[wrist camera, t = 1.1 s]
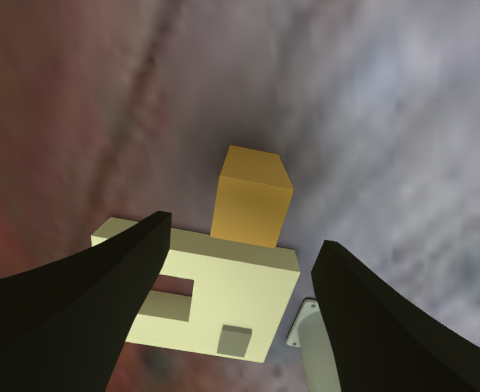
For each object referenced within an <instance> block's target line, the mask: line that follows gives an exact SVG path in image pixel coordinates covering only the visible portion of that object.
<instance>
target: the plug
mask: <svg viewBox="0 0 480 392" xmlns="http://www.w3.org/2000/svg"><path fill="white" fill-rule="evenodd" d="M293 192H294V188H293V186H292V184H291V181H290V179H289V177H288V175H287V172H286V170H285V168H284V165H283V163H282V161H281V159H280V156H279V155H278V154H273V153H268V152H263V151H258V150H253V149H248V148H243V147H238V146H233V145H230V147H229V150H228V153H227V156H226V159H225V162H224V165H223V168H222V171H221V174H220V178H219V184H218V190H217V196H216V202H215V209H214V215H213V221H212V227H211V233H210V237H213V238H218V239H224V240H229V241H235V242H241V243H246V244H252V245H257V246H263V247H268V248H274V249H275V247H276V244H277V241H278V238H279V235H280V232H281V229H282V225H283V222H284V219H285V216H286V213H287V210H288V207H289V204H290V201H291V198H292V195H293Z"/></svg>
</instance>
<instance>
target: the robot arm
mask: <svg viewBox="0 0 480 392" xmlns="http://www.w3.org/2000/svg"><path fill="white" fill-rule="evenodd" d="M171 219H172V213H169V212H163V211H157V212H155V213H154V214H152V215H150V216H148V217H147V218H145V219H143V220H142V221H140V222H138V223H137V224H135V225H133V226H131V227H130V228H128V229H126V230H124V231H123V232H121V233H119V234H117V235H115V236H113V237H111V238H109V239H107V240H105V241H103V242H101V243H99V244H97V245H95V246H93V247H90V248H88V249H86V250H83V251H81V252H79V253H76V254H74V255H71V256H69V257H66V258H64V259H61V260H58V261H55V262H52V263H49V264H47V265H44V266H41V267H38V268H35V269H32V270H29V271H26V272H23V273H19V274H16V275H13V276H10V277H6V278H3V279H0V392H105V390H106V387H107V384H108V382H109V379H110V377H111V374H112V372H113V370H114V367H115V365H116V362H117V360H118V357H119V355H120V352H121V350H122V348H123V345H124V343H125V341H126V338H127V336H128V334H129V331H130V329H131V327H132V324H133V322H134V320H135V318H136V316H137V314H138V312H139V310H140V308H141V307H142V305H143V303H144V301H145V299H146V297H147V295H148V294H149V292H150V290H151V288H152V286H153V284H154V283H155V281H156V279H157V277H158V275H159V273H160V271H161V269H162V268H163V265H164V263H165V260H166V257H167V255H168V252H169V249H170V237H171ZM311 275H312V282H313V287H314V293H315V296H316V299H317V301H316V300H310V299H307V300H305V301H304V303H303V305H302V307H301V309H300V311H299V313H298V316H297V318H296V320H295V322H294V324H293V327H292V329H291V331H290V333H289V335H288V338H287V340H286V342H287V344H288V345H290V346H296V347H300V350H301V355H302V360H303V365H304V370H305V375H306V381H307V386H308V391H309V392H480V348H479V347H478V346H476V345H474V344H473V343H471V342H469V341H468V340H466V339H465V338H463V337H461V336H460V335H458V334H457V333H455V332H454V331H452V330H450V329H449V328H447V327H446V326H444V325H442V324H441V323H440V322H438V321H437V320H435V319H434V318H432V317H431V316H429V315H428V314H426V313H425V312H424V311H422V310H421V309H419V308H418V307H416V306H415V305H414V304H412V303H411V302H410V301H408V300H407V299H406V298H404V297H403V296H402V295H400V294H399V293H398V292H397V291H395V290H394V289H393V288H392V287H390V286H389V285H388V284H387V283H385V282H384V281H383V280H382V279H381V278H379V277H378V276H377V275H376V274H375V273H373V272H372V271H371V270H370V269H369V268H368V267H367V266H365V265H364V264H363V263H362V262H361V261H360V260H359V259H357V258H356V257H355V256H354V255H353V254H352V253H351V252H349V251H348V250H347V249H346V248H345V247H343V246H342V245H341V244H340V243H338V242H335V241H329V240H324V243H323V245H322V247H321V250H320V252H319V255H318V257H317V259H316V262H315V264H314V266H313V269H312V271H311Z"/></svg>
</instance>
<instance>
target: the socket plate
mask: <svg viewBox="0 0 480 392" xmlns="http://www.w3.org/2000/svg"><path fill="white" fill-rule="evenodd" d="M137 223H138V222H136V221H130V220H125V219H119V218H114V217H110V218H109V219H108V220H107V221H106V222H105V223H104V224H103V225H102V226H101V227H100V228H99V229H98V230H97V231H95V232H94V233H93V234H92V235H91V240H92V247H93V246H95V245H97V244H99V243H101V242H103V241H105V240H107V239H109V238H111V237H113V236H115V235H117V234H119V233H121V232H123V231H124V230H126V229H128V228H130V227H131V226H133V225H135V224H137ZM159 274H163V275H169V276H175V277H181V278H187V279H192V280H194V287H193V294H192V297H189V296H183V295H177V294H171V293H165V292H159V291H153V290H150V292H149V294H148V295H147V297H146V299H145V301H144V303H143V305H142V307H141V308H140V310H139V312H138V314H137V316H136V318H135V320H134V322H133V324H132V327H131V329H130V331H129V334H128V336H127V338H126V342H132V343H139V344H145V345H152V346H158V347H165V348H171V349H177V350H184V351H190V352H197V353H203V354H210V355H216V356H223V357H229V358H236V359H242V360H248V361H255V362H261V363H263V362H264V359H265V357H266V355H267V352H268V350H269V347H270V345H271V343H272V340H273V338H274V335H275V333H276V330H277V328H278V326H279V323H280V321H281V318H282V316H283V314H284V311H285V309H286V306H287V304H288V301H289V299H290V297H291V294H292V292H293V289H294V287H295V284H296V282H297V280H298V277H299V275H300V269H299V265H298V262H297V258H296V254H295V251H294V250H291V249H286V248H280V247H275V249H274V248H268V247H263V246H257V245H252V244H246V243H241V242H235V241H229V240H224V239H218V238H213V237H210V235H208V234H203V233H197V232H191V231H186V230H180V229H175V228H171V237H170V249H169V252H168V255H167V257H166V260H165V263H164V265H163V268H162V269H161V271H160V273H159Z"/></svg>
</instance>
